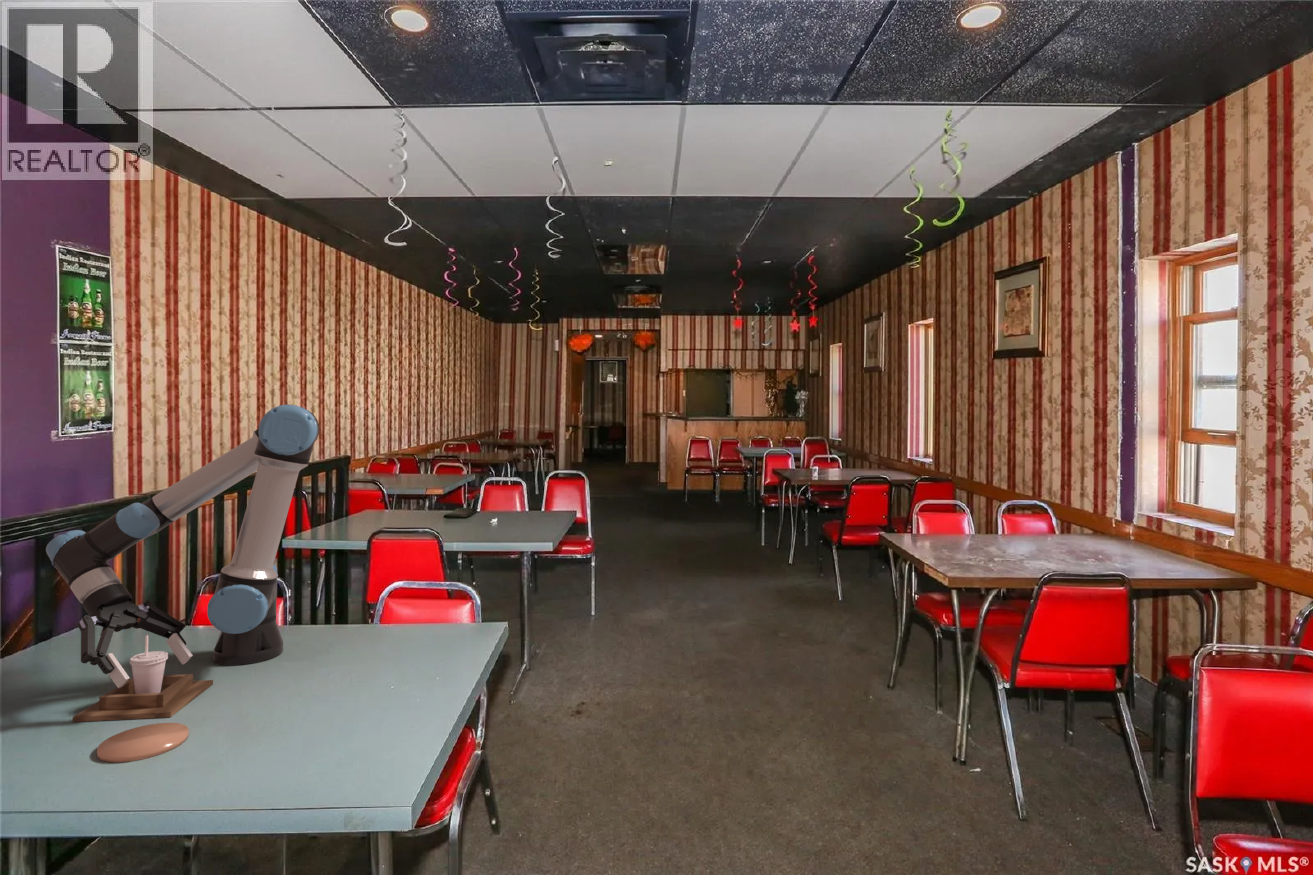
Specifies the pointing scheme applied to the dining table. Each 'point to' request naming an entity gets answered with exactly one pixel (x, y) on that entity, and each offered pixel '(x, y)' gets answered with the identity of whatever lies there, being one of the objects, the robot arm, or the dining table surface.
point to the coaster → (142, 742)
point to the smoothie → (148, 670)
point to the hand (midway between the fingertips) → (157, 671)
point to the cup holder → (145, 700)
